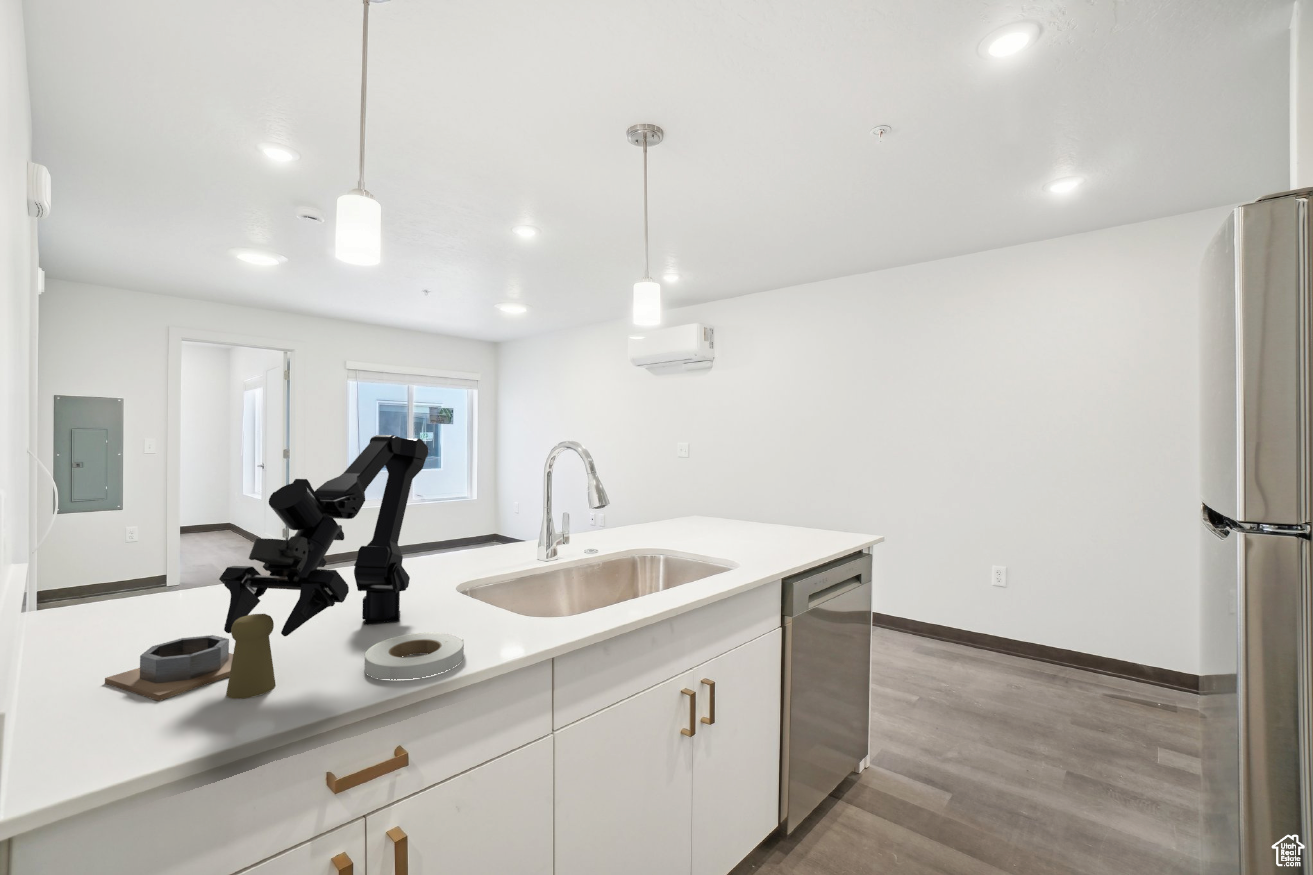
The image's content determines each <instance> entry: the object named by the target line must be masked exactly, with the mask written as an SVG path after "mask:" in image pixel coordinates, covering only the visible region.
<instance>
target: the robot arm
mask: <svg viewBox="0 0 1313 875" xmlns="http://www.w3.org/2000/svg"><path fill="white" fill-rule="evenodd" d="M428 456H429V448H428V445H427V444H426V443H425V442H424V440H423V439H421V438H402V437H400V436H396V435H394V434H376V435H373V436H371V438H370V439H369V443H368V444H367V446H366V447H364V449H363V450H362V452H361V453H359V454H358V456H357V457H356V458H355V459H354V460H353V462H352V463H351V464H350V465H349V466H348V467H347V468H346V470H345V471H343V473H342V474H340V475H339V476H337V477H334V478H331V479H328V480H327V481H325V482H324V483H323V484H321V485H320V486H319V487H317V489H316V490H314V489H313V487H312V484H311V483H310V482H309V480H308V479H307V478H295V479H294V480H293V482H292V483H289V484H286V485H283V486H282V487H280V488H279V489H277V490H275V491H273V492H272V494H271V495H270V496H269V499H268V505H269V507H270V508H271V509H272V510H273V511H274V513H275V514H276V515H277V516H278V517H279V519H280V520H281V521H282V523H284V525H285V526H286V527H287V528H288V529H290V530H291V531H296V533H295V534H294V535H293V536H290V537H289V539H278V538H261V537H258V538H255V540H254V542H253V545H252V547H251V548H252V549H251V551H250V554H249V556H248V559H249V560H250V561H258V562H261V563H264V564H263V565H262V569H264V571H266V572H269V575H262V574H261V573H260V572H259V571H258V570H257V569H256V568H255V567H254V566H248V565H231V566H228V567H226V568H225V570H224V572H222V574H221V575H220V577H219V578H218V580H219V581H220V582H221V583H222V584H223V586H224V587H225V588H226V589H227V590H229V593H230V601H229V607H228V612H227V614H226V619H225V624H224V629H223V631H224V632H225V633H227V634H231V628H232V625H233V623H234V622H235V621H236V620H237V619H238V618H240V617H243V616H247V615H250V614H251V612H252V611H254V609H255V608H256V607H257V606H258V604H259V603H260V602H261V600H260V599H259V598H260V597H262V596H263V595H264V594H265V593H266V591H267V590H268V589H272V590H273V589H274V590H291V591H292V590H293V591H300V592H299V598H298V600H297V602H296V604H295V606H294V607H293V609H292V610H291V612H290V614H289V615H288V617H287V619H286V621H285V623H284V625H283V627H282V629H281V632H280V633H281V635H282V636H283V637H288V636H289V635H291V634H292V633H294V631H296V630H297V629H299V628H300V627H301V626H303V625H304V624H305V623H307V622H308V621H309V620H310V619H312V618H314V617H315V616H316V615H318V614H319V613H321V612H323V611H325V610H326V609H328V608H329V607H334V606H335V604H336V603H344V602H345V600H346V598H347V596H348V594H349V592H350V590H349V589H350V588H349V584H348V583H347V582H346V580H344V578H343V577H342V576H341V574H340V573H339V572H338V570H336V569H326V568H325V566H326V564H327V560H326V559H325V558H324V557H325V556H326V555H327V552H328V550H329V549H330V547H331V545H332V544H333V542H334V541H344V540H345V534H344V531H343V525H341V524H338V522H336V520H335V519H337V520H338V519H339V520H350V519H351V520H352V519H354V518H355V517H356V516H357V515H358V514H359V512H360V510H361V509H362V507H363V506H364V503H365V501H366V494H365V491H366V490H367V489H368V487H369V486H370V484H371V483H372V482H373V481H374V479H375V478H376V477H377V476H378V474H379V473H380V472H381V470H383V469H384V467H385V468H386V472H387V478H386V484H385V487H384V492H383V495H382V499H381V503H380V508H379V512H378V515H377V519H376V523H375V528H374V532H373V536H372V539H371V540H370V542H368V543H367V544H366V545H361V546H360V547H359V549H358V552H357V556H356V561H355V563H354V565H353V566H354V568H353V575H354V579H355V584H356V587H357V591H358V592H365V595H364V597H363V599H362V617H361V618H362V620H364V621H363V624H364V625H373V624H382V623H384V624H385V623H394V622H395V623H396V622H400V619H401V618H400V617H401V610H400V609H401V608H400V605H401V604H400V602H401V600H400V599H401V598H400V597H401V596H400V594H401V592H404V591H406V590H407V588H409V585H410V579H411V577H410V575H409V574H408V573H407V571H406V570H405V568H404V567H403V558H404V557H403V553H402V552H401V549H400V547H399V539H400V536H401V530H402V526H403V523H404V522H403V521H404V518H405V513H406V508H407V503H408V500H409V497H410V491H411V486H412V482H413V480H414V478H415V477H416V476H417V475H418V474H419V473H420V472H421V471H422V470H423V469H424V465H425V463H426V459H427V458H428ZM319 568H320V569H319ZM322 568H325V569H322Z"/></svg>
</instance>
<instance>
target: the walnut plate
mask: <svg viewBox="0 0 1313 875" xmlns="http://www.w3.org/2000/svg"><path fill="white" fill-rule="evenodd" d="M232 659H233V653H232V652H231V653H230V652H229V657H228V661H227V662H226V663H225V665H224V666H223V667H222V668H221V669H220V670H217V671H214V672H211V673H208V674H205V675H202V676H199V677H196V678H193V679H190V680H182V681H174V682H165V683H157V684H155V683H152V682H149V681H146V680H142V679H140V667H138V668H134V669H131V670H127V671H124V672H120V673H116V674H113V675H110V676H106V677H105V678H104V684H105V685H109V686H112V687H115V688H118V689H122V690H124V691H128V692H131V693H134V694H137V695H140V696H142V697H143V696H144V697H146V698H149V699H152V700H155V701H158V702H160V701H163V700H165V699H168V698H172V697H175V696H176V695H180V694H182V693H186V692H189V691H191V690H194V689H198V688H200V687H203V686H206V685H209V684H212V683H214V682H217V681H220V680H223V679H226V678H229V675H230V670H231V664H232Z"/></svg>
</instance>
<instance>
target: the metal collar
mask: <svg viewBox="0 0 1313 875" xmlns="http://www.w3.org/2000/svg"><path fill="white" fill-rule="evenodd" d="M229 646H230V638H227V637H222V636H218V635H213V634H212V635H201V636H192V637H191V636H190V637H181V638H177V639H174V640H169V641H167V642H163V643H159V644H156V645H152V646H150V647H149V648H148V649H147V650H146V651H144V652H143V653H142V654H141V655H140V656H139V668H140V679H142V680H146V681H149V682H152V683H155V684H157V683H165V682H174V681H182V680H190V679H193V678H196V677H199V676H202V675H205V674H208V673H211V672H214V671H217V670H220V669H221V668H222V667H223V666H224V665H225V663H226V662H227V661H228V657H229V653H230V652H229V649H230V648H229Z"/></svg>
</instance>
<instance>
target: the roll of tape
mask: <svg viewBox="0 0 1313 875" xmlns="http://www.w3.org/2000/svg"><path fill="white" fill-rule="evenodd" d="M464 642H465V641H464V639H463V638H460V637H459V636H457V635H455V634H452V633H445V632H435V631H434V632H431V631H430V632H417V633H409V634H408V633H407V634H402V635H398V636H393V637H391V638H387V639H384V640H382V641H379V642H377V643H375V644H374V645H372V646H370V647H369V648H368V649H367V650H366V652H365V653H364V673H365V672H366V673H365V674H366V675H367V674H368V675H369V677H370V676H372V677H373V679H375V678H378V679H390V680H391V679H393V680H394V679H396V680H397V679H413V678H422V677H426V676H431V675H434V674H438V673H441V672H445V671H446V670H449V669H452V668H453V667H455V666H456V665H458V664H459V663H460V662H461V661H462V659H463V660H464V653H465V652H464V651H465V650H464V649H465V648H464V646H465V643H464ZM420 653H428V654H424V655H423V654H422V655H421V654H420ZM410 654H413V655H417V656H411V655H410ZM407 655H408V656H409V657H407ZM418 655H419V656H418ZM402 656H404V657H402ZM410 656H411V657H410ZM462 662H463V661H462ZM462 662H461V663H462ZM461 663H460V664H461ZM460 664H459V665H460ZM459 665H458V666H459ZM455 668H456V667H455ZM452 670H453V669H452ZM445 673H446V672H445ZM368 675H367V676H368ZM372 677H371V678H372ZM378 679H377V680H378Z"/></svg>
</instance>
